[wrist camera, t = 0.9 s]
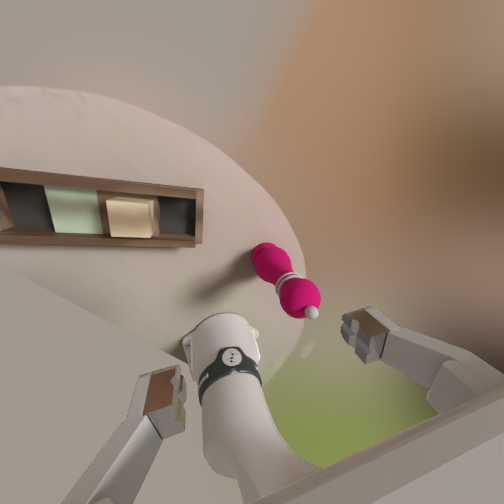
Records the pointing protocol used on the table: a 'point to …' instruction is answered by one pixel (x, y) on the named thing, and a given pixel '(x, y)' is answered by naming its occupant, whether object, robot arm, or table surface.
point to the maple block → (131, 217)
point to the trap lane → (91, 210)
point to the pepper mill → (286, 281)
